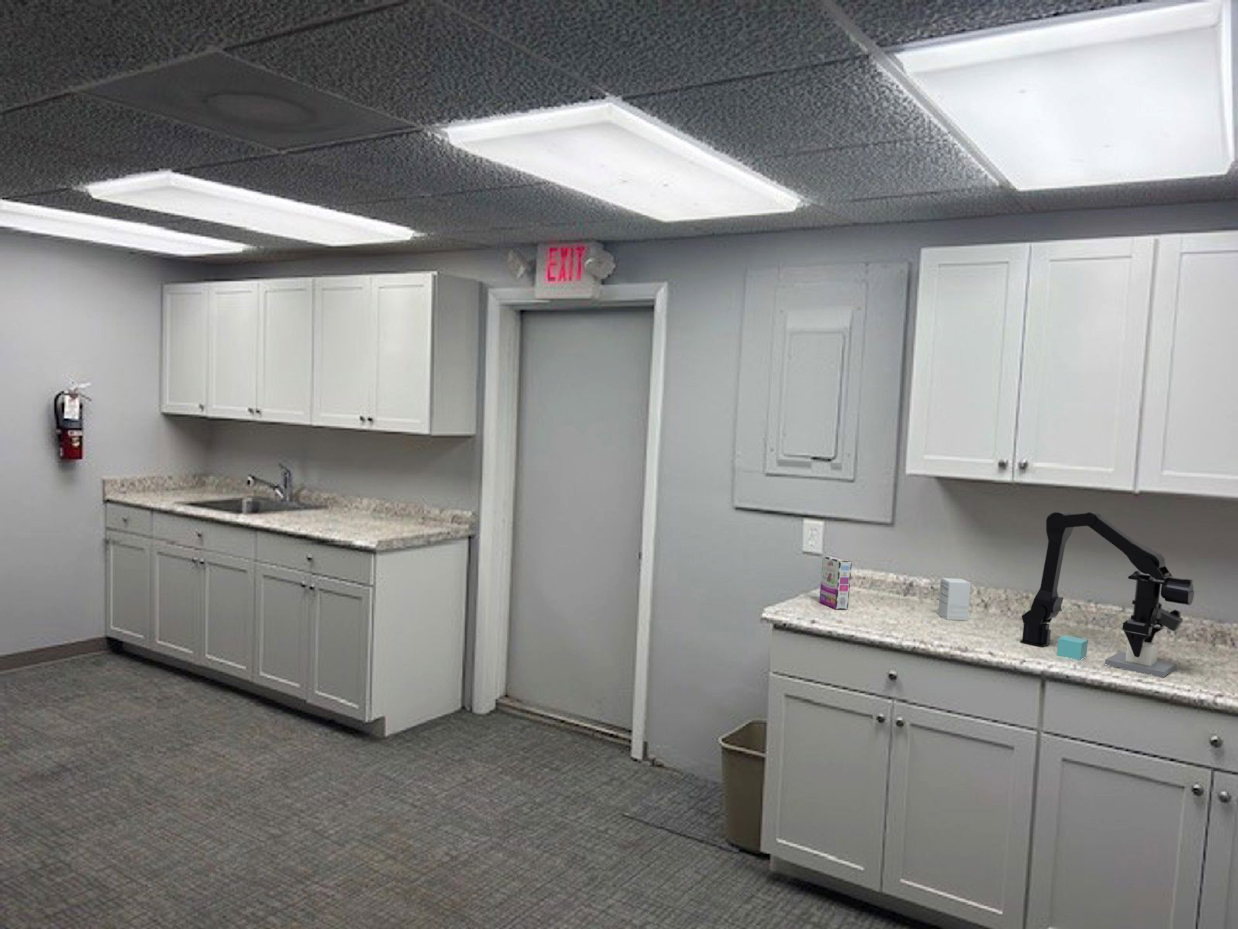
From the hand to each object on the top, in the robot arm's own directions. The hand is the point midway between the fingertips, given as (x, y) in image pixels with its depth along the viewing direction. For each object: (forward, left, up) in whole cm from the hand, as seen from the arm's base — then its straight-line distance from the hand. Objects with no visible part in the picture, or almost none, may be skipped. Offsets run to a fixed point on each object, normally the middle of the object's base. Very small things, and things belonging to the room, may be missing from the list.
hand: (1141, 654), depth 241 cm
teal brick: (-16, -5, -4) cm, 17 cm away
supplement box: (-58, +13, -4) cm, 60 cm away
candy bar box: (-90, -8, -4) cm, 90 cm away
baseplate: (0, 0, -4) cm, 4 cm away
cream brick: (0, 0, -2) cm, 2 cm away
